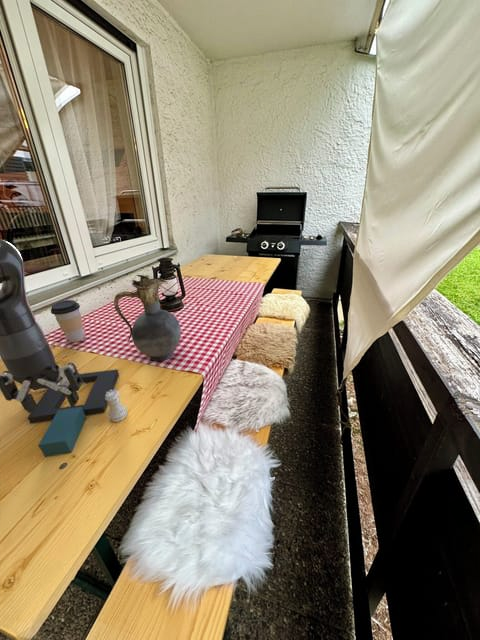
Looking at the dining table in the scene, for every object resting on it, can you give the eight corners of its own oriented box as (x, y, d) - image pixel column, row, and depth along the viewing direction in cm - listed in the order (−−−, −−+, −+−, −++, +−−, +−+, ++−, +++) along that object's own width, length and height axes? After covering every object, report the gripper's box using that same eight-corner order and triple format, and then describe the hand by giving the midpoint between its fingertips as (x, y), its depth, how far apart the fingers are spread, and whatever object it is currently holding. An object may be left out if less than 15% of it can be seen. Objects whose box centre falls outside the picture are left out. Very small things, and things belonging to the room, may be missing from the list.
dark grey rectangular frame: (30, 423, 66) (27, 417, 65) (57, 381, 80) (55, 376, 79) (104, 412, 69) (102, 407, 68) (118, 374, 83) (117, 369, 82)
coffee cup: (87, 330, 109) (75, 297, 102) (92, 338, 102) (80, 304, 95) (61, 337, 104) (47, 303, 97) (65, 347, 97) (50, 311, 90)
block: (44, 457, 58) (37, 445, 56) (63, 421, 66) (58, 410, 64) (71, 452, 58) (65, 440, 57) (86, 418, 67) (81, 406, 65)
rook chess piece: (108, 424, 65) (99, 401, 61) (110, 411, 69) (102, 388, 65) (127, 420, 66) (119, 397, 62) (128, 407, 70) (121, 385, 66)
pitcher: (183, 362, 87) (169, 277, 73) (124, 367, 85) (99, 281, 72) (185, 344, 97) (173, 266, 83) (132, 349, 95) (112, 270, 81)
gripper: (70, 332, 55) (93, 390, 62) (-5, 341, 53) (28, 399, 60) (54, 352, 48) (82, 414, 56) (-32, 363, 46) (8, 425, 54)
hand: (54, 406), depth 58 cm, fingers open, 8 cm apart
